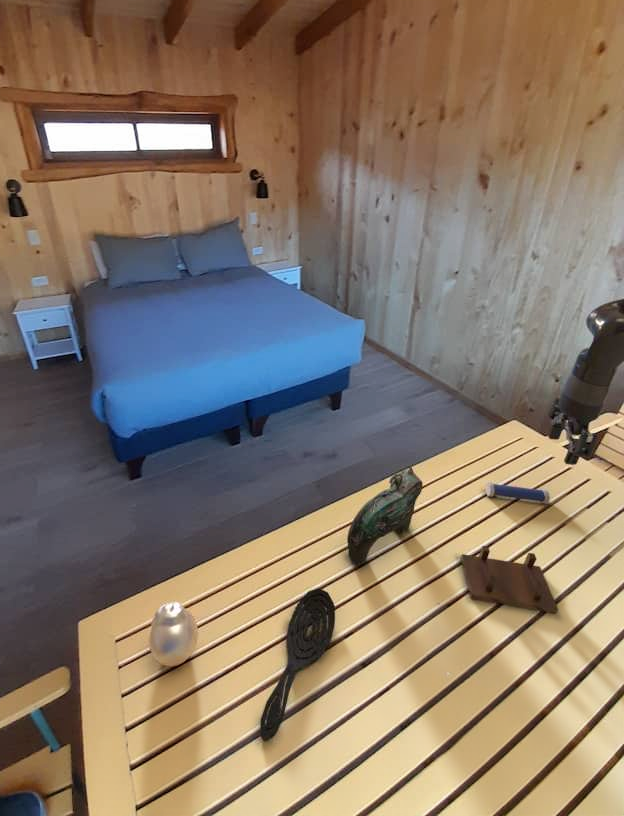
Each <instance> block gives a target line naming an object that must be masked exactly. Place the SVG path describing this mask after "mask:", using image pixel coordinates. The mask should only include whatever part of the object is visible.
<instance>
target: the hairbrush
mask: <svg viewBox="0 0 624 816" xmlns="http://www.w3.org/2000/svg"><path fill="white" fill-rule="evenodd" d="M335 625H336V606H335V603H334V601H333V599H332V596H331V595H330V593H329V592H328V591H326V590H324V589H321V588H320V587H317V588H314V589H310V590H309V591H308V590H307V591H306V593H304V596H302V597H301V599H300V600H299V602H298V603H297V604H296V606H294V611H292V614H291V618H290V620H289V622H288V626H287V633H286V640H285V641H286V642H285V644H286V655H287V661H286V662H287V663H286V667H285V669H283V673H282V674H281V676H280V678H279V680H278V683H277V684H276V686H275V687H274V689H273V691H272V692H271V694H270V695H269V697H268V698H267V700H266V702H265V705H264V708H263V710H262V714H261V717H260V724H259V726H260V729H259V730H260V737H261V738H262V739H263V740H265V741H269V740H270V739H272V738H273V737H274V736H275V735H276V734H277V732H278V730H279V728H280V726H281V724H282V721H283V719H284V717H285V713H286V709H287V704H288V700H289V699H288V698H289V694H290V690H291V688H292V685H293V683H294V680H295V677H296V674H297V673H298V672H300V670H302V669H303V668H305V667H307V666H309V665H311V664H313V663H315V662H317V660H318V659H320V658H321V656H322V655H323V654H324V653H325V652H326V650H327V649H328V646H329V645H330V643H331V640H332V638H333V633H334V630H335ZM310 626H311V630H310V631H309V632H308V628H309V627H310ZM308 633H309V634H308Z"/></svg>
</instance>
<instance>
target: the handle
mask: <svg viewBox="0 0 624 816" xmlns="http://www.w3.org/2000/svg"><path fill="white" fill-rule="evenodd" d="M484 489H485V494H486V495H487V497H494V496H498V497H503V498H505V497H506V498H513V499H519V500H528V501H535V502H540V503H541V504H546V505H547V504H550V500H551V496H550V491H549V490H548V489H546V488H539V489H537V488H536V489H535V488H527V487H521V486H513V485H505V484H497V483H493V482H492V481H486V483H485V487H484Z"/></svg>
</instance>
